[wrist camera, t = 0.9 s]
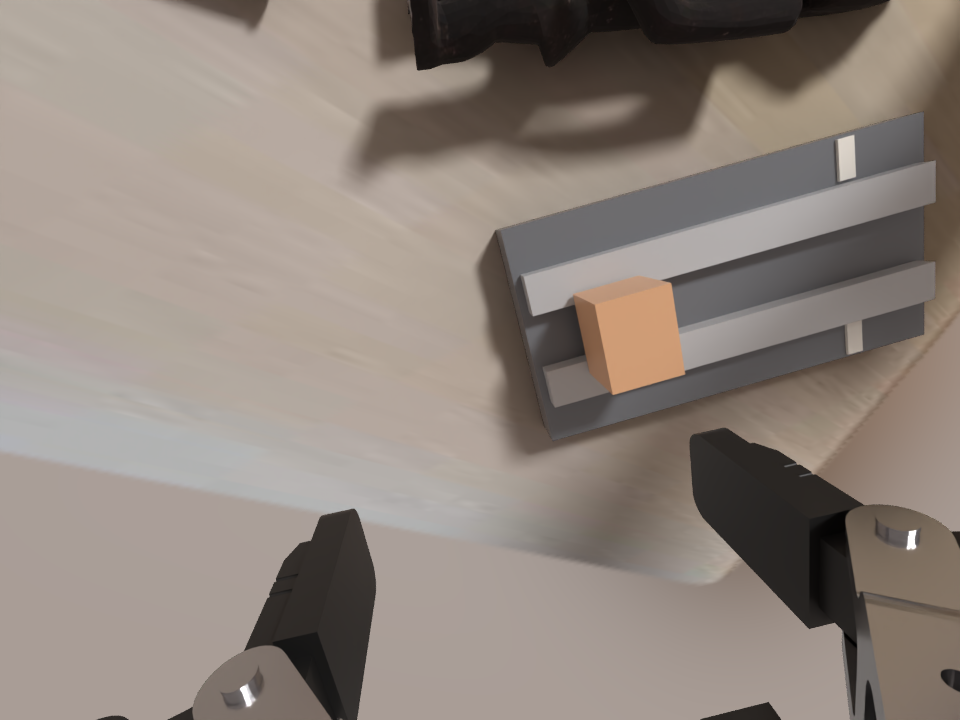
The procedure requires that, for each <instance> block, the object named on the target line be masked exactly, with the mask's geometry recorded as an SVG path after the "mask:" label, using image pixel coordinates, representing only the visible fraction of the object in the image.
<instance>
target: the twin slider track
mask: <svg viewBox="0 0 960 720" xmlns="http://www.w3.org/2000/svg"><path fill="white" fill-rule="evenodd" d="M935 202H936V160H935V161H927V162H924V112H919V113H915V114H911V115H907V116H903V117H899V118H894V119H890V120H886V121H882V122H879V123H875V124H872V125H868V126H865V127H861V128H857V129H854V130H850V131H847V132H843V133H840V134H836V135H833V136H829V137H825V138H822V139H818V140H815V141H811V142H808V143H804V144H801V145H797V146H793V147H790V148H786V149H783V150H779V151H776V152H772V153H768V154H765V155H761V156H758V157H754V158H751V159H747V160H744V161H740V162H736V163H733V164H729V165H726V166H722V167H719V168H715V169H711V170H708V171H704V172H701V173H697V174H694V175H690V176H687V177H683V178H679V179H676V180H672V181H669V182H665V183H662V184H658V185H655V186H651V187H647V188H644V189H640V190H637V191H633V192H630V193H626V194H622V195H619V196H615V197H612V198H608V199H605V200H601V201H598V202H594V203H590V204H587V205H583V206H580V207H576V208H573V209H569V210H565V211H562V212H558V213H555V214H551V215H548V216H544V217H541V218H537V219H533V220H530V221H526V222H523V223H519V224H516V225H512V226H509V227H505V228H501V229H498V230H495V231H496V235H497V239H498V243H499V247H500V251H501V255H502V259H503V262H504V266H505V270H506V274H507V278H508V282H509V286H510V290H511V294H512V298H513V302H514V306H515V310H516V314H517V318H518V322H519V326H520V330H521V334H522V338H523V342H524V346H525V350H526V354H527V358H528V362H529V366H530V370H531V374H532V378H533V382H534V386H535V390H536V394H537V398H538V402H539V406H540V410H541V414H542V418H543V422H544V426H545V428H546V430H547V432H548V434H549V435H550V437H551V439H552V441H555V440H558V439H562V438H565V437H569V436H572V435H576V434H579V433H583V432H586V431H590V430H593V429H596V428H600V427H603V426H607V425H610V424H614V423H617V422H621V421H624V420H628V419H631V418H635V417H638V416H642V415H645V414H649V413H652V412H656V411H659V410H663V409H666V408H670V407H673V406H676V405H680V404H683V403H687V402H690V401H694V400H697V399H701V398H704V397H708V396H711V395H715V394H718V393H722V392H725V391H729V390H732V389H736V388H739V387H743V386H746V385H750V384H753V383H757V382H760V381H763V380H767V379H770V378H774V377H777V376H781V375H784V374H788V373H791V372H795V371H798V370H802V369H805V368H809V367H812V366H816V365H819V364H823V363H826V362H830V361H833V360H837V359H840V358H844V357H847V356H850V355H854V354H857V353H861V352H864V351H868V350H871V349H875V348H878V347H882V346H885V345H889V344H892V343H896V342H899V341H903V340H906V339H910V338H913V337H917V336H920V335H924V302H926V301H929V300H933V299H935V261H924V205H928V204H931V203H935ZM638 275H639V276H644V277H648V278H652V279H656V280H661V281H665V282H669V283H671V285H672V291H673V298H674V304H675V311H676V317H677V324H678V330H679V337H680V343H681V350H682V357H683V363H684V370H685V375H681V376H678V377H674V378H671V379H667V380H664V381H660V382H657V383H653V384H650V385H647V386H643V387H640V388H636V389H633V390H629V391H626V392H622V393H619V394H615V395H612V394H611V393H610V392H609V391H608V390H607V389H606V388H605V387H604V386H603V385H602V384H601V383H600V382H598V381H597V380H596V379H595V378H594V377H593V376H592V375H591V374H590V373H589V368H588V363H587V358H586V354H585V349H584V344H583V340H582V335H581V330H580V326H579V321H578V316H577V312H576V307H575V302H574V297H573V294H575V293H578V292H582V291H585V290H589V289H593V288H596V287H600V286H603V285H607V284H610V283H614V282H617V281H621V280H624V279H628V278H631V277H635V276H638Z"/></svg>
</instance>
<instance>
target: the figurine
mask: <svg viewBox="0 0 960 720" xmlns="http://www.w3.org/2000/svg"><path fill="white" fill-rule="evenodd" d="M407 1H408V14H410V15H411V21H412V33H413V37H414V47H415V56H416V66H417V70H427V69H432V68H434V67H437V66H440V65H442V64H450V63H458V62H463V61H466V60H468V59H471V58H473V57H475V56H476V55H478V54H480V53H482V52H483V51H485V50H486V49H487V48H489V47H490V46H492V45H493V44H494V43H497V42H509V43H524V44H537V45H538V46H539V48H540V51H541V54H542V56H543V59H544V62H545V65H546V66H548V67H551V66H554V65H555V64H556V63H558V62H559V61H560V60H562V59H563V58H564V57H565V56H566V55H567V54H568V53H570V52H571V51H572V50H573V49H574V48H575V47H576V46H577V45H578V44H579V43H580V42H581V41H582V40H583V39H584V38H585V37H586V36H587V35H588V34H589V33H591V32H606V31H618V30H629V29H638V28H641V29H642V31H643V32H644V34H645V36H646V37H647V38H648V39H649V40H650V41H651V42H653V43H655V44H688V43H700V42H712V41H723V40H733V39H743V38H752V37H759V36H766V35H773V34H779V33H784V32H786V31H788V30H790V29H791V28H792V27H793V26H794V25H795V24H796V21H797V19H798V18H801V17H811V16H820V15H829V14H836V13H842V12H847V11H853V10H860V9H864V8H867V7H871V6H875V5H878V4H882V3H884V2H887V1H889V0H407Z"/></svg>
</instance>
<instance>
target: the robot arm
mask: <svg viewBox="0 0 960 720" xmlns="http://www.w3.org/2000/svg"><path fill="white" fill-rule="evenodd" d="M690 458H691V472H692V486H693V496H694V500H695V503H696V506H697V508H698V510H699V512H700V514H701V515H702V517H703V518H704V519H705V521H706V522H707V523H708V524H709V525H710V526H711V527H712V528H713V529H714V530H715V531H716V532H717V533H718V534H719V535H720V536H721V537H722V538H723V539H724V540H725V541H726V543H727V544H728V545H729V546H730V547H731V548H732V549H733V550H734V551H735V552H736V553H737V554H738V555H739V556H740V557H741V558H742V559H743V560H744V561H745V562H746V563H747V565H748V566H749V567H750V568H751V569H752V570H753V571H754V572H755V573H756V574H757V575H758V576H759V577H760V578H761V579H762V580H763V581H764V582H765V583H766V584H767V585H768V586H769V588H770V589H771V590H772V591H773V592H774V593H775V594H776V595H777V596H778V597H779V598H780V599H781V600H782V601H783V602H784V603H785V604H786V605H787V606H788V607H789V608H790V610H791V611H792V612H793V613H794V614H795V615H796V616H797V617H798V618H799V619H800V620H801V621H802V622H803V623H804V624H805V625H806V626H807V627H808V628H809V629H811V628H815V627H819V626H823V625H827V624H831V623H836V624H837V625H838V626H839V627H840V628H841V629H842V652H843V661H844V670H845V679H846V688H847V697H848V706H849V715H850V720H960V532H951V531H950V530H949V529H948V528H947V527H946V526H944V525H943V524H942V523H940V522H939V521H937V520H935V519H933V518H931V517H929V516H927V515H925V514H922V513H920V512H917V511H914V510H911V509H906V508H902V507H898V506H891V505H863V504H862V503H860V502H858V501H857V500H855V499H854V498H852V497H851V496H849V495H847V494H846V493H844V492H843V491H841V490H839V489H838V488H836V487H834V486H833V485H831V484H830V483H828V482H827V481H825V480H823V479H822V478H820V477H819V476H817V475H816V474H815V475H812V473H811V471H809V470H808V469H806V468H804V467H803V466H801V465H797V464H796V462H795V461H793V460H792V459H790V458H789V457H787V456H785V455H784V454H782V453H781V452H779V451H777V450H774V449H771V448H768V447H765V446H762V445H759V444H756V443H751V444H750V443H749V442H747V441H746V440H744V439H742V438H741V437H739V436H738V435H736V434H735V433H733V432H732V431H730V430H729V429H727V428H720V429H715V430H711V431H706V432H702V433H697V434H694V435H692V436H691V438H690ZM269 595H270V597H269V598H267V600H266V603H265V605H264V607H263V609H262V612H261V614H260V616H259V618H258V621H257V623H256V625H255V627H254V630H253V632H252V634H251V636H250V639H249V641H248V643H247V646H246V648H245V650H244V652H242V653H240V654H238V655H236V656H234V657H233V658H231V659H230V660H228V661H227V662H225V663H224V664H223V665H221V666H220V667H219V668H218V669H217V670H216V671H214V673H213V674H212V675H211V676H210V677H209V678H208V679H207V680H206V681H205V683H204V684H203V686H202V687H201V689H200V690H199V692H198V694H197V696H196V698H195V701H194V704H193V707H191V708H190V709H188V710H186V711H184V712H182V713H180V714H178V715H176V716H174V717H173V718H170V719H168V720H357V716H358V709H359V702H360V695H361V689H362V682H363V675H364V668H365V662H366V655H367V648H368V642H369V635H370V628H371V622H372V615H373V607H374V601H375V595H376V579H375V571H374V566H373V562H372V559H371V556H370V552H369V549H368V546H367V542H366V539H365V535H364V532H363V529H362V525H361V522H360V518H359V515H358V513H357V511H356V510H355V509H350V510H345V511H340V512H336V513H331V514H327V515H322V516H321V517H320V519H319V521H318V524H317V527H316V529H315V532H314V534H313V537H312V540H311V541H308V542H303V543H300V544H299V545H298V546H297V547H296V548H295V549H294V550H293V551H292V553H291V554H290V555H289V556H288V557H287V558H286V559H285V560H284V562H283V564H282V567H281V569H280V571H279V573H278V575H277V578H276V582H274V584H273V587H272V589H271V591H270V594H269ZM98 720H128V719H127V718H125V717H123V716H109V717H104V718H101V719H98ZM701 720H781V719H780V717H779V716H778V714H777V713H776V712H775V710H774V709H773V708H772V706H771V705H770V704H769V702H767V703H763V704H759V705H755V706H751V707H747V708H743V709H740V710H735V711H731V712H727V713H723V714H719V715H716V716H711V717H708V718H704V719H701Z"/></svg>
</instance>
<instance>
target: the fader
mask: <svg viewBox="0 0 960 720" xmlns="http://www.w3.org/2000/svg"><path fill="white" fill-rule="evenodd" d="M573 297H574V302H575V307H576V312H577V316H578V321H579V326H580V330H581V335H582V340H583V344H584V349H585V354H586V358H587V363H588V368H589V373H590V374H591V375H592V376H593V377H594V378H595V379H596V380H597V381H598V382H600V383H601V384H602V385H603V386H604V387H605V388H606V389H607V390H608V391H609V392H610V393H611V394H612V395H615V394H619V393H622V392H626V391H629V390H633V389H636V388H640V387H643V386H647V385H650V384H653V383H657V382H660V381H664V380H667V379H671V378H674V377H678V376H681V375H685V370H684V363H683V357H682V350H681V343H680V337H679V330H678V324H677V317H676V311H675V304H674V298H673V291H672V285H671V283H669V282H665V281H661V280H656V279H652V278H648V277H644V276H639V275H638V276H635V277H631V278H628V279H624V280H621V281H617V282H614V283H610V284H607V285H603V286H600V287H596V288H593V289H589V290H585V291H582V292H578V293H575V294H573Z"/></svg>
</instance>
